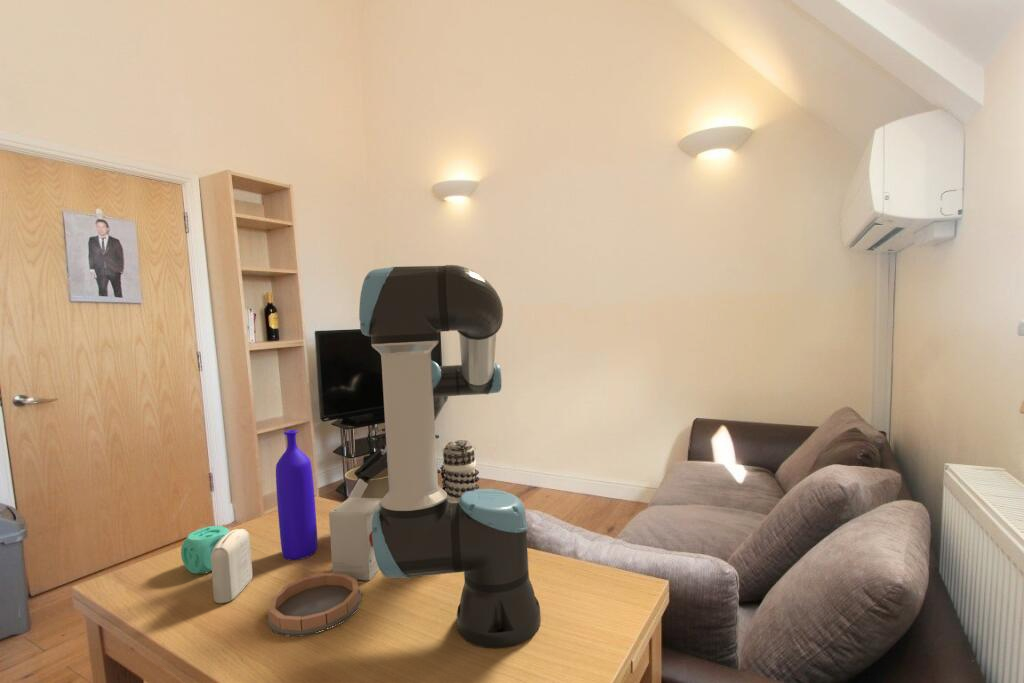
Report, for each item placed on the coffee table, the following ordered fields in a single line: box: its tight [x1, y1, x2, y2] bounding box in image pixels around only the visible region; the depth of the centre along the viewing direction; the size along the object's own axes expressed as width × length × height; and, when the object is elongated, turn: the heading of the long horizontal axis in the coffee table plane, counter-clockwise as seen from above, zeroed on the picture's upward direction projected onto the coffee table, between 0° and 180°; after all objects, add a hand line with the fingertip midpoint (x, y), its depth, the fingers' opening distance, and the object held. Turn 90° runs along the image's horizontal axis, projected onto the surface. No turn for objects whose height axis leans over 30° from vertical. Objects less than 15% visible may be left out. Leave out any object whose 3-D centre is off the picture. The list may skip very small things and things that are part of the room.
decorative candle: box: [440, 440, 480, 503], centre depth 124 cm, size 9×9×25 cm
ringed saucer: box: [267, 572, 362, 637], centre depth 99 cm, size 17×17×3 cm
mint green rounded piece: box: [180, 525, 230, 575], centre depth 119 cm, size 8×8×8 cm
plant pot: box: [344, 465, 389, 498], centre depth 135 cm, size 15×15×16 cm
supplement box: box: [328, 497, 383, 581], centre depth 114 cm, size 9×9×15 cm
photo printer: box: [211, 528, 254, 604], centre depth 107 cm, size 10×4×12 cm, turn 3°
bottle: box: [275, 429, 318, 561], centre depth 123 cm, size 8×8×30 cm
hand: (367, 512), depth 117 cm, fingers open, 13 cm apart
